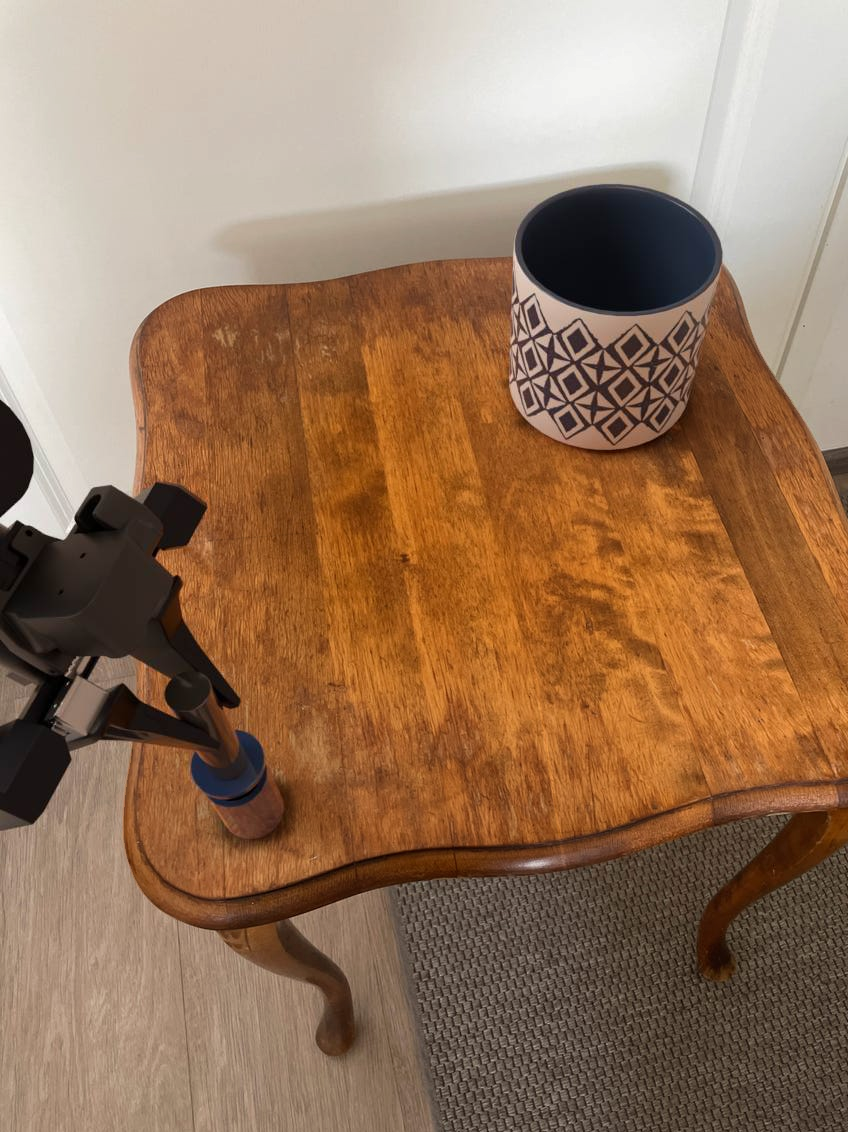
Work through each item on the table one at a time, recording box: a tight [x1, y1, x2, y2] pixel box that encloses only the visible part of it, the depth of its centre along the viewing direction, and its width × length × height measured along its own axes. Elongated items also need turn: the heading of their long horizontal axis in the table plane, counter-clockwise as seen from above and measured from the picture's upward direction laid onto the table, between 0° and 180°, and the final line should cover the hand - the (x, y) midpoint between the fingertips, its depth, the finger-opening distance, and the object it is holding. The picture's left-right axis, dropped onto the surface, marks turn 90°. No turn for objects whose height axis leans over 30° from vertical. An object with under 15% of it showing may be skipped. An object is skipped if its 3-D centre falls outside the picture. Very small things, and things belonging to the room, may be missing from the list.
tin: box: [205, 763, 285, 840], centre depth 60 cm, size 4×4×6 cm
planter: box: [508, 183, 724, 451], centre depth 77 cm, size 16×16×14 cm
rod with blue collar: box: [163, 671, 267, 799], centre depth 53 cm, size 4×4×10 cm
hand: (226, 726), depth 51 cm, fingers closed on rod with blue collar, 2 cm apart
